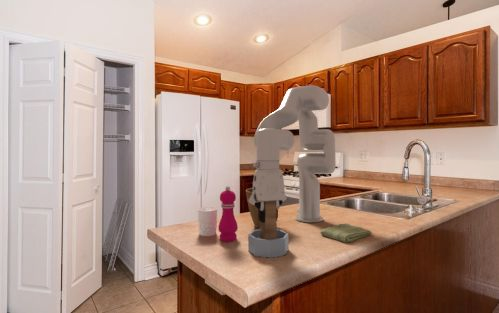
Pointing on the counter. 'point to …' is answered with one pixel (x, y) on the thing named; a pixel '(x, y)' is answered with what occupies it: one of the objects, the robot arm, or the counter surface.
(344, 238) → the washcloth
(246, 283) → the counter surface
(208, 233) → the white cup
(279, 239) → the grey pet bowl
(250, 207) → the plant pot
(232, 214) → the pepper mill
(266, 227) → the brown wooden block
